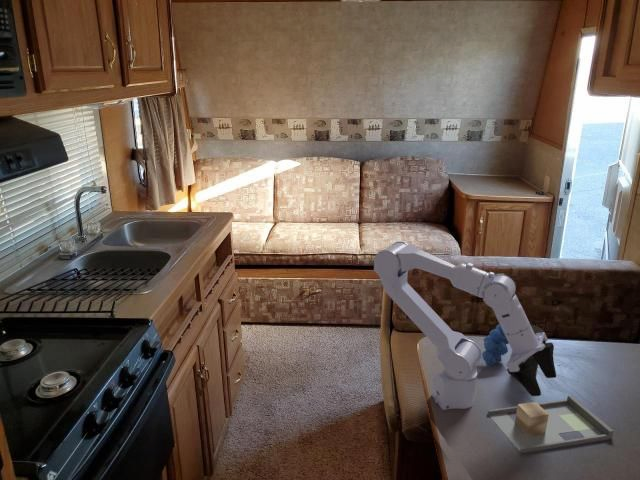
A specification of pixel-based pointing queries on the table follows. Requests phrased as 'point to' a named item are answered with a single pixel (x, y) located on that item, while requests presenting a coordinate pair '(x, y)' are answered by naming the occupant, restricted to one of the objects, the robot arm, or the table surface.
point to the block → (531, 419)
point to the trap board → (554, 426)
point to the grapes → (495, 346)
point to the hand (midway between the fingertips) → (544, 386)
